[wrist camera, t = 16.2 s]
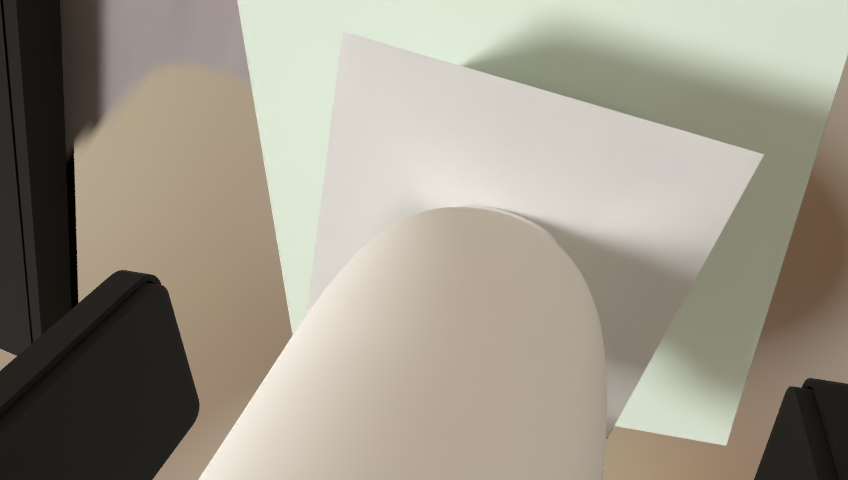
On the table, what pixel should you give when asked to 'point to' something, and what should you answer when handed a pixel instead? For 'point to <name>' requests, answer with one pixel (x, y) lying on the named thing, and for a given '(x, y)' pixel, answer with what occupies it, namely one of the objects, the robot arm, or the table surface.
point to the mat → (606, 87)
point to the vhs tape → (34, 177)
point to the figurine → (480, 279)
